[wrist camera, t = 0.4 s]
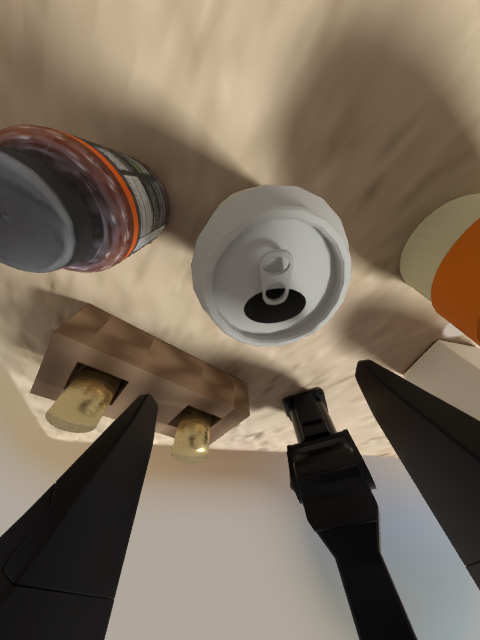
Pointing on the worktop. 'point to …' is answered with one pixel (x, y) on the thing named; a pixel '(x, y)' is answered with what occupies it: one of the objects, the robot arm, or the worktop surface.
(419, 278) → the reusable coffee cup
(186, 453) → the peg
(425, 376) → the milk carton
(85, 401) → the peg
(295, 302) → the can
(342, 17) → the worktop surface
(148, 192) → the supplement bottle
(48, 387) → the walnut block
